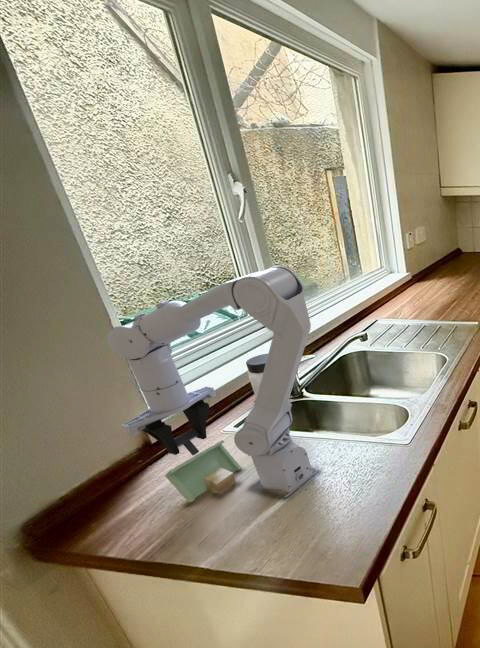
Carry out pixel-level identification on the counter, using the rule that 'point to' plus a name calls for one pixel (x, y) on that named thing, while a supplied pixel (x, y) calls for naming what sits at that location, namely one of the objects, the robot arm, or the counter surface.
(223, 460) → the tray
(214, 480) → the block
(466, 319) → the counter surface
